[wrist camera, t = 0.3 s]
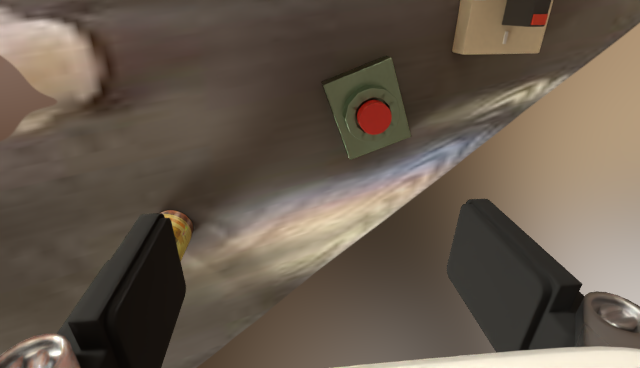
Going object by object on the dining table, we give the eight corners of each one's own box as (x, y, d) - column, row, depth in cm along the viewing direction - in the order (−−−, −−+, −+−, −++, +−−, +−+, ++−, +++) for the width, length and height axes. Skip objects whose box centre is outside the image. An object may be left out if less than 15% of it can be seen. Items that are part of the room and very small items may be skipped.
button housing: (321, 81, 44) (325, 88, 40) (386, 55, 43) (396, 59, 40) (347, 154, 49) (352, 165, 45) (406, 131, 48) (416, 141, 45)
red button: (352, 106, 42) (355, 110, 40) (383, 94, 42) (387, 98, 40) (362, 135, 44) (365, 139, 42) (391, 123, 44) (395, 127, 42)
